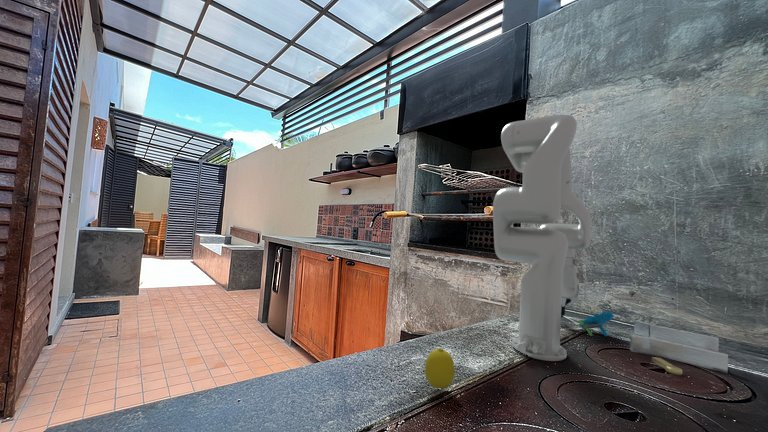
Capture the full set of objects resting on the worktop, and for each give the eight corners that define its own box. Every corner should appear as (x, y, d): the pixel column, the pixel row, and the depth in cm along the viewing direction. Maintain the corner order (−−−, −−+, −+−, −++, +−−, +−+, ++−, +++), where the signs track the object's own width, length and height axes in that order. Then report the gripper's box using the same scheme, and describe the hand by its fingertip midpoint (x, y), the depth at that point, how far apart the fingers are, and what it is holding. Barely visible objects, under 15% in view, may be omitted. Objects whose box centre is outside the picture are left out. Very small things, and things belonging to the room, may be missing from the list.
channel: (728, 375, 70) (729, 358, 70) (629, 350, 82) (630, 335, 82) (717, 350, 85) (717, 336, 85) (634, 332, 96) (634, 319, 96)
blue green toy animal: (600, 322, 100) (617, 307, 93) (612, 340, 96) (631, 326, 89) (569, 327, 99) (584, 312, 91) (580, 345, 94) (596, 331, 87)
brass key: (685, 375, 69) (685, 371, 69) (672, 374, 69) (672, 370, 69) (661, 361, 76) (662, 357, 76) (649, 360, 76) (649, 356, 76)
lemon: (433, 379, 62) (435, 340, 63) (458, 390, 59) (460, 348, 59) (418, 390, 58) (420, 348, 58) (444, 402, 55) (446, 357, 55)
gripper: (590, 263, 100) (587, 320, 100) (540, 258, 110) (538, 309, 110) (585, 265, 94) (583, 325, 94) (533, 259, 104) (531, 313, 104)
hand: (559, 316), depth 102 cm, fingers closed
